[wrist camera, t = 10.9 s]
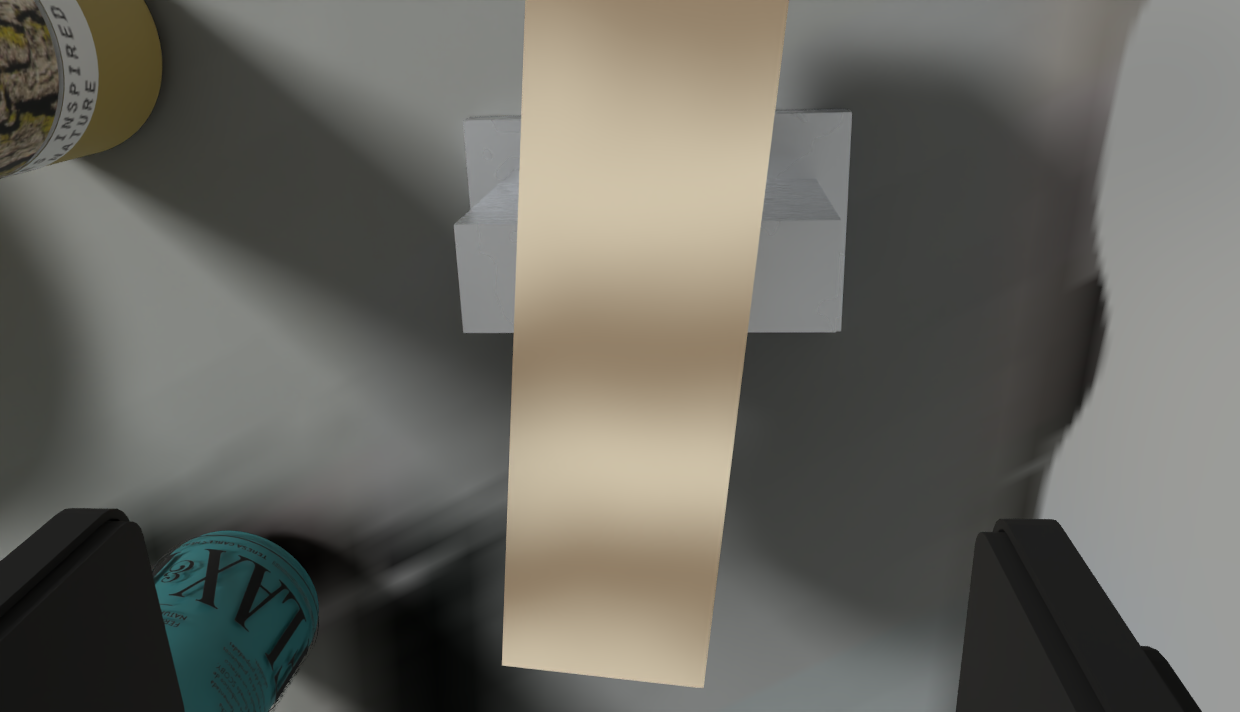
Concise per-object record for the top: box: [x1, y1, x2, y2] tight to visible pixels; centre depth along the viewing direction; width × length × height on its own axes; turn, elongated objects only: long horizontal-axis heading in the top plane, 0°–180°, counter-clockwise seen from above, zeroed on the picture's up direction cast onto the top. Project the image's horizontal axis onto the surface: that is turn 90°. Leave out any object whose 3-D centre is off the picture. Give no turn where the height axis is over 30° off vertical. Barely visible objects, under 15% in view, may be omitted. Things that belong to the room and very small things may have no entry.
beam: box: [502, 0, 789, 688], centre depth 23 cm, size 18×5×5 cm, turn 176°
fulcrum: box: [454, 109, 852, 333], centre depth 29 cm, size 7×12×7 cm, turn 92°
